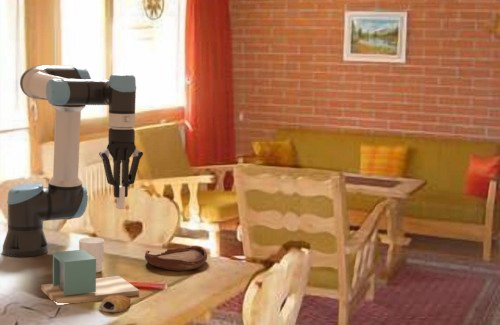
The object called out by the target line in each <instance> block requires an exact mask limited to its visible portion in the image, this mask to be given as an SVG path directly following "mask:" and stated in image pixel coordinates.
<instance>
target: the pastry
mask: <svg viewBox="0 0 500 325" xmlns="http://www.w3.org/2000/svg"><path fill="white" fill-rule="evenodd" d="M130 305H131V298H130V297H129V296H128V297H125V296H123V295H121V296H119V295H112V296H108V297H106V298H104V299H103V300H101V303H100V304H99V309H100V311H102V312H107V313H109V312H110V313H114V314H115V313H122V312H123V311H126V310H128V308H129V307H130Z"/></svg>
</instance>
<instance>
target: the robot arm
mask: <svg viewBox="0 0 500 325" xmlns="http://www.w3.org/2000/svg"><path fill="white" fill-rule="evenodd" d="M136 82H137V81H136V76H134V75H133V74H127V73H126V74H123V73H121V74H120V73H113V74H110V75H109V78H108V79H107V78H102V79H92V78H91V75H90V73H89V71H88V70H87V68H85V67H83V66H78V65H77V66H76V65H46V64H43V65H41V64H40V65H35V66H32V67H29V68H28V69H26V70H25V71H24V72H23V73H22V75H21V76H20V78H19V86H20V89H21V91H22V92H23V94H24V95H25V96H26V97H29V98H31V99H35V100H43V101H47V102H48V103H49V104H50V105H51V107H53V109H54V140H53V141H54V142H53V144H54V145H53V165H52V166H53V168H52V169H53V170H52V171H53V172H52V177H51V178H50V179H49V180H48V184H47V186H46V187H44V185H43V184H42V183H37V182H33V183H30V182H29V183H23V184H18V185H15V186H13V187H11V188H10V189H9V190H8V192H7V202H6V204H7V232H6V236H5V238H4V241H3V244H2V254H4V255H5V256H9V257H15V258H25V257H26V258H27V257H28V258H29V257H36V256H37V257H38V256H42V255H45V254H47V253H48V252H49V245H48V244H49V243H48V240H47V238H46V235H45V231H44V222H46V221H61V220H72V219H79V218H82V216H84V214H85V212H86V211H87V210H86V209H87V206H88V201H89V200H88V199H89V196H88V189H87V187H86V186H85V185H83V181H82V180H81V179H80V177H79V168H80V166H79V164H80V141H81V140H80V139H81V138H80V137H81V119H82V118H81V117H82V116H81V115H82V110H83V109H85V108H86V106H108V127H110V128H109V129H108V138H107V139H108V144H107V146H106V149H105V150H103V151H100V152H99V153H98V155H99V157H100V158H101V160H102V163H103V167H104V173H105V176H106V178H105V179H106V183H108V185H110V186H113V197H114V198H116V208H117V209H119V210H124V209H126V207H125V205H126V201H125V200H126V198H127V197H128V192H129V190H128V189H129V187H130V185H134V184H135V181H136V177H137V172H138V168H139V165H140V160H141V159H142V157H143V155H144V152H143V151H140V150H139V149H137V146H136V144H135V138H136V130H135V129H134V128H135V126H136V94H137V91H136V90H137V86H136V85H137V84H136ZM110 156H111V157H112V162H113V170H112V167H111V166H112V165H111V162H110V159H109V157H110ZM132 156H133V157H132ZM131 157H132V160H130V159H131ZM130 162H131V166H130ZM129 166H130V167H129Z"/></svg>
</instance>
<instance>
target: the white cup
mask: <svg viewBox="0 0 500 325" xmlns="http://www.w3.org/2000/svg"><path fill="white" fill-rule="evenodd" d="M78 248H79V249H78V250H84V251H86V252H87V253H89V254H90V255H91V256H93V257H94V258H96V274H97V273H101V272H102V271H103V262H104V251H105V239H103V237H102V238H101V237H97V236H95V237H91V236H90V237H84V238H80V239H79V240H78Z"/></svg>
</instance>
